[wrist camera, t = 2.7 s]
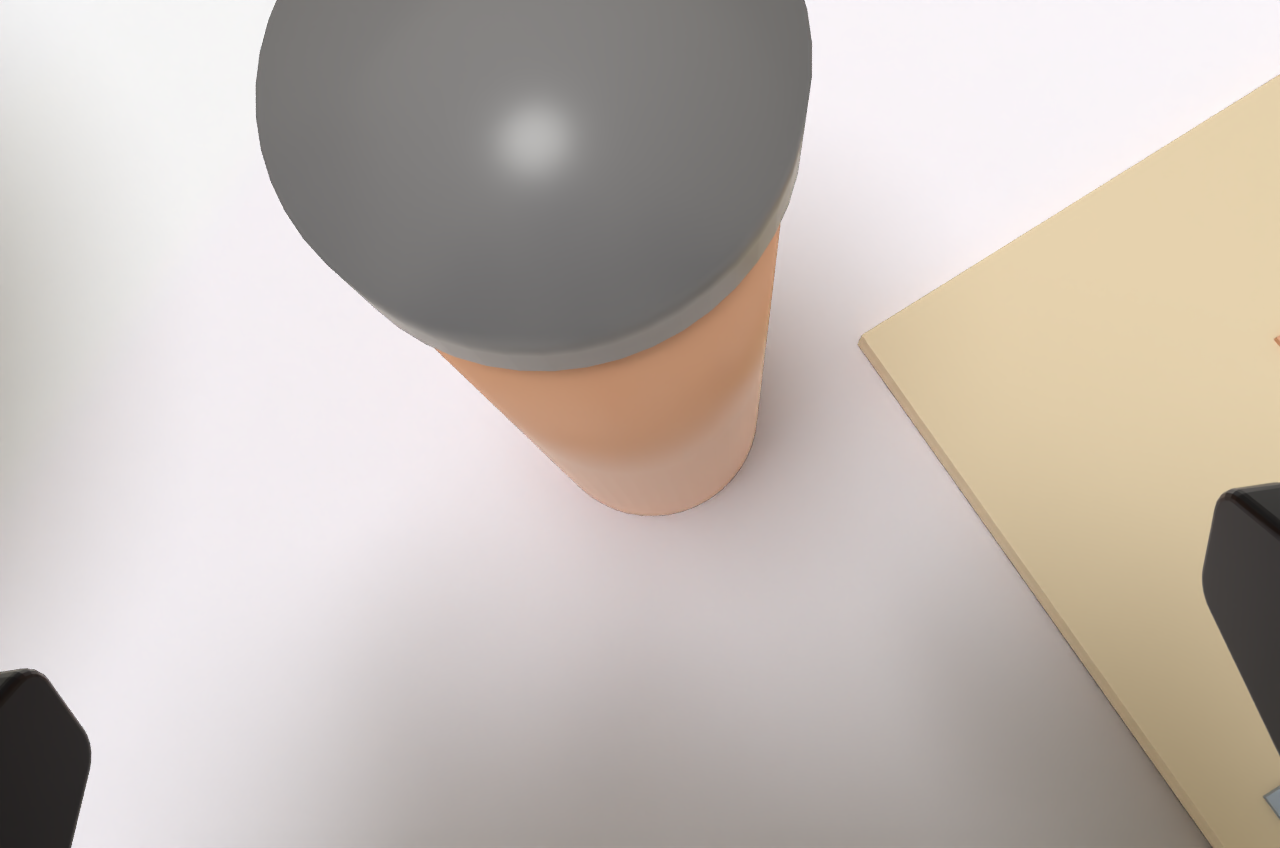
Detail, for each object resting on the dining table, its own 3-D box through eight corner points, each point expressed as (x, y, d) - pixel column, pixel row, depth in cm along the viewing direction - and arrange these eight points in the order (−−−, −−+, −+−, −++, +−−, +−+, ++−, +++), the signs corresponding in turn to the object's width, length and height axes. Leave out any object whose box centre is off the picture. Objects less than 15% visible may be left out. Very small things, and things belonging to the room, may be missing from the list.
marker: (805, 444, 19) (928, 132, 7) (615, 563, 19) (420, 447, 7) (687, 268, 20) (621, -268, 8) (505, 380, 20) (166, 3, 8)
